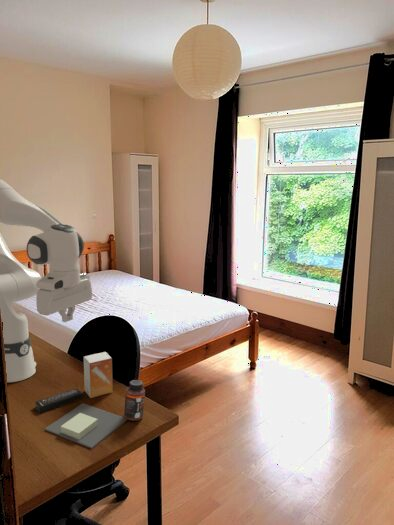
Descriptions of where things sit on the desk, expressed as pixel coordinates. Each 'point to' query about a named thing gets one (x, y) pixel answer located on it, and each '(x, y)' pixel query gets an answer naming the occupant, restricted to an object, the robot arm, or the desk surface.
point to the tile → (79, 426)
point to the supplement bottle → (134, 401)
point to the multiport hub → (58, 400)
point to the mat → (96, 435)
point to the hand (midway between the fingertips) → (67, 320)
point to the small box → (98, 374)
